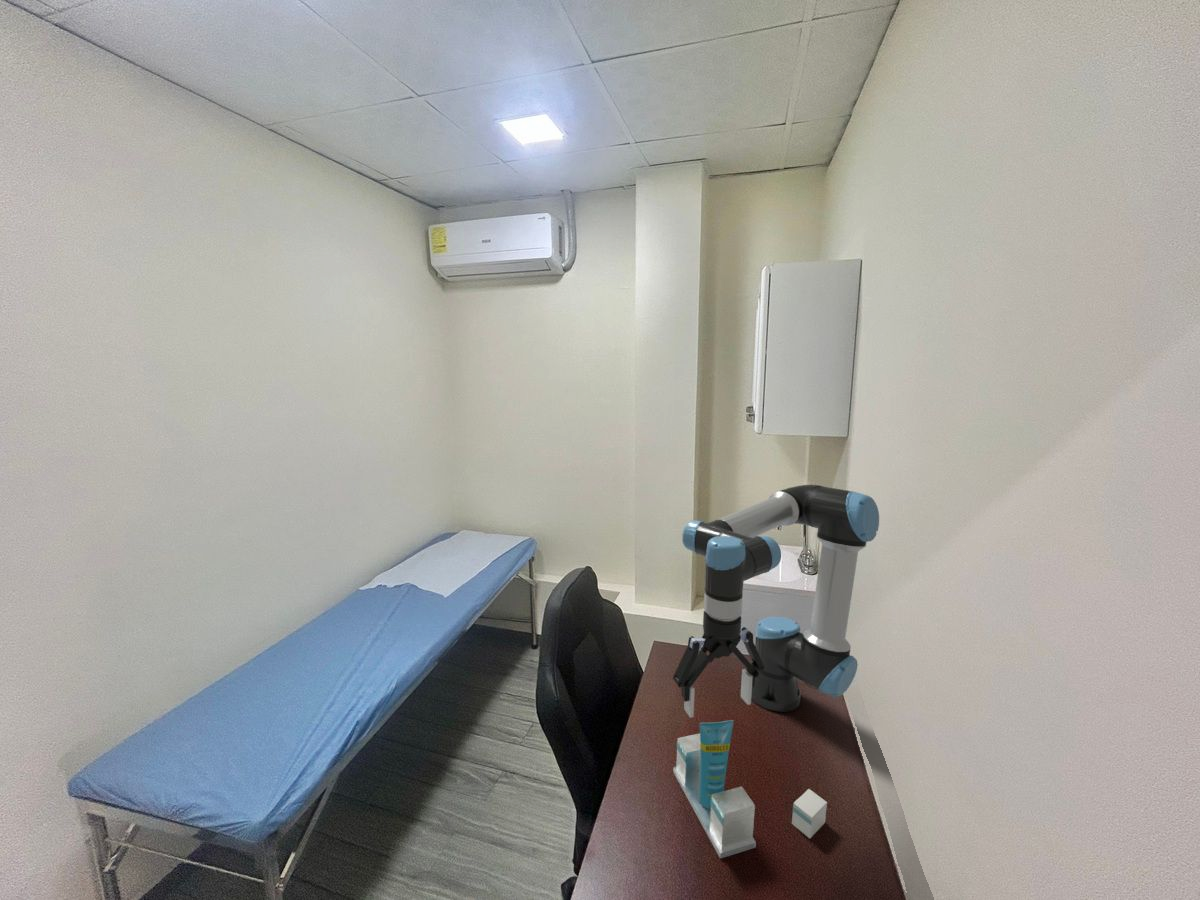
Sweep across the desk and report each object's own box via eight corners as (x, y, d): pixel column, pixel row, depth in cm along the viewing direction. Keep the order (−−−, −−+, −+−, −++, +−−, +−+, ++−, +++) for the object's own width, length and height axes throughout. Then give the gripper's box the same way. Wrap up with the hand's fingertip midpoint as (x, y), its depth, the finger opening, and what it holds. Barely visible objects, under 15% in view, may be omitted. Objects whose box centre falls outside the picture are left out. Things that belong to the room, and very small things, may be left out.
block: (806, 808, 100) (808, 788, 100) (824, 823, 97) (827, 802, 97) (791, 824, 97) (793, 803, 96) (809, 839, 94) (811, 818, 93)
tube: (699, 813, 97) (704, 731, 95) (690, 793, 102) (695, 714, 99) (732, 807, 99) (738, 726, 96) (721, 788, 104) (727, 710, 101)
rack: (703, 764, 112) (705, 730, 110) (755, 847, 92) (758, 806, 90) (673, 771, 109) (674, 737, 108) (720, 858, 89) (722, 817, 88)
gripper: (763, 596, 101) (757, 684, 104) (658, 612, 94) (656, 706, 97) (785, 613, 94) (779, 707, 97) (674, 631, 87) (671, 731, 90)
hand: (717, 706), depth 97 cm, fingers open, 13 cm apart
